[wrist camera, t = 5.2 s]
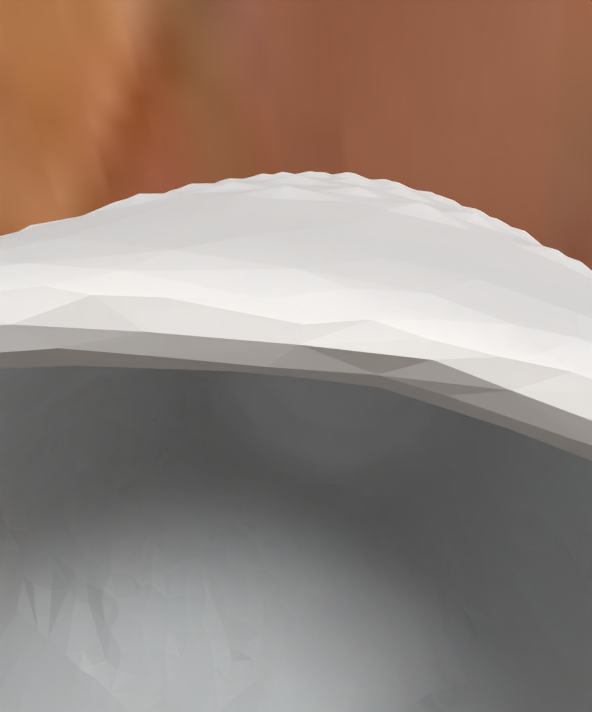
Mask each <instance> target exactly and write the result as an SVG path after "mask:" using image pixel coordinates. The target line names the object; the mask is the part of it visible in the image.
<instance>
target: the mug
mask: <svg viewBox="0 0 592 712" xmlns="http://www.w3.org/2000/svg"><path fill="white" fill-rule="evenodd" d="M0 712H592V271H591V270H590V269H589V268H588V267H587V266H585V265H584V264H583V263H582V262H580V261H577V260H575V259H572V258H569V257H566V256H565V255H564V254H562V253H561V252H560V251H558V250H556V249H552V248H548V247H544V246H542V245H541V244H540V243H539V242H538V241H536V240H535V239H534V238H533V237H532V236H531V235H529V234H528V233H527V232H526V231H524V230H520V229H516V228H513V227H510V226H509V225H507V224H506V223H504V222H502V221H500V220H498V219H496V218H492V217H489V216H488V215H486V214H485V213H484V212H482V211H480V210H477V209H474V208H469V207H464V206H461V205H459V204H458V203H457V202H455V201H454V200H451V199H448V198H445V197H442V196H440V195H436V194H434V193H432V192H426V191H417V190H413V189H411V188H409V187H407V186H404V185H402V184H400V183H398V182H392V181H390V180H386V179H378V180H370V179H367V178H365V177H362V176H360V175H357V174H355V173H349V172H345V173H340V174H334V175H331V174H328V173H325V172H312V171H308V172H304V173H299V174H291V173H286V172H280V173H277V174H273V175H270V174H260V175H256V176H253V177H249V178H245V179H231V178H230V179H226V180H222V181H219V182H217V183H214V184H189V185H187V186H184V187H182V188H179V189H175V190H171V191H169V192H167V193H165V194H137V195H135V196H133V197H130V198H128V199H125V200H121V201H117V202H114V203H111V204H109V205H107V206H104V207H102V208H100V209H97V210H95V211H93V212H90V213H88V214H86V215H83V216H79V217H74V218H68V219H63V220H57V221H52V222H46V223H41V224H36V225H30V226H28V227H26V228H24V229H23V230H21V231H19V232H15V233H11V234H7V235H3V236H0Z"/></svg>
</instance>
